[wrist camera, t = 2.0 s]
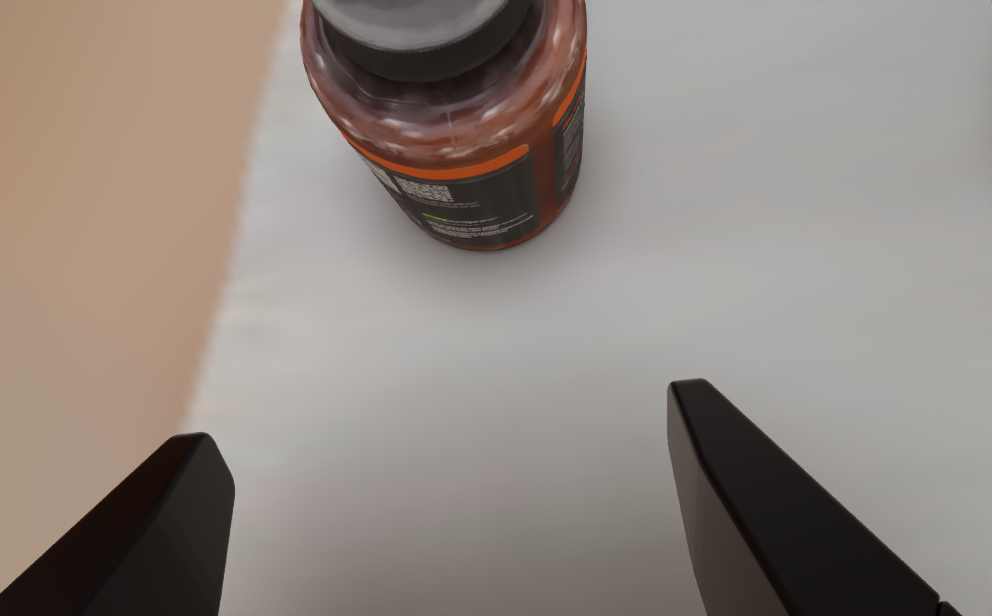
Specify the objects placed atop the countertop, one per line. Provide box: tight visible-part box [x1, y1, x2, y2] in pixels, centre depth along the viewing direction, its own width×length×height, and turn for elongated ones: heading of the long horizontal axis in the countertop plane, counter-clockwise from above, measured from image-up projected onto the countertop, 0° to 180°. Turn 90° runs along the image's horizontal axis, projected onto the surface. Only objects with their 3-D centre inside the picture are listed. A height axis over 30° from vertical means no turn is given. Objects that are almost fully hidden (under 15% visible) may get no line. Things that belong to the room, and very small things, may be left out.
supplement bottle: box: [300, 0, 587, 250], centre depth 18 cm, size 6×6×11 cm
